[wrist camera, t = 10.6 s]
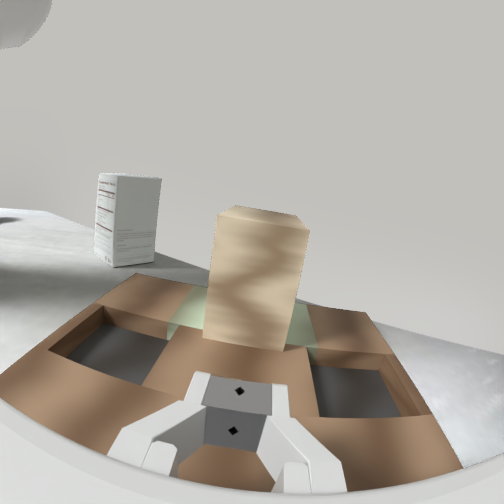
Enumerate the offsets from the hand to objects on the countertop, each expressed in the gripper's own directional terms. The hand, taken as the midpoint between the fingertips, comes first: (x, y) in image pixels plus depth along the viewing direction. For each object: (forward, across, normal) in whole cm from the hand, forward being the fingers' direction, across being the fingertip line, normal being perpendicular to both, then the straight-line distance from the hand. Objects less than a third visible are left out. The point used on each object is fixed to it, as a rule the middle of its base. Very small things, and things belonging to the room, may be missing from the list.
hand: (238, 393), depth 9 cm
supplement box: (+31, +20, +7) cm, 38 cm away
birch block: (+16, 0, +5) cm, 17 cm away
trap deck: (+9, 0, +7) cm, 11 cm away
